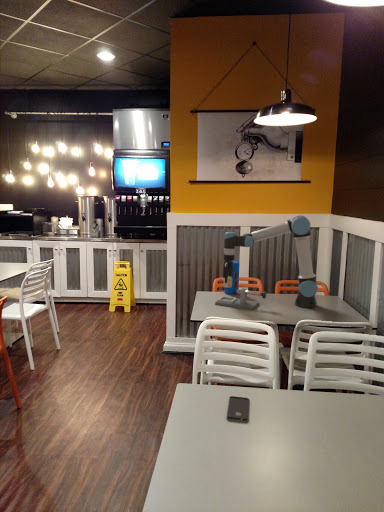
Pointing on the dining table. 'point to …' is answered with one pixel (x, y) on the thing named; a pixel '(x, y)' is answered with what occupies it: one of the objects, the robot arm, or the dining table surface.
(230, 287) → the spacer collar
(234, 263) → the thermos
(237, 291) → the retaining shaft
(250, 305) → the keeper base
